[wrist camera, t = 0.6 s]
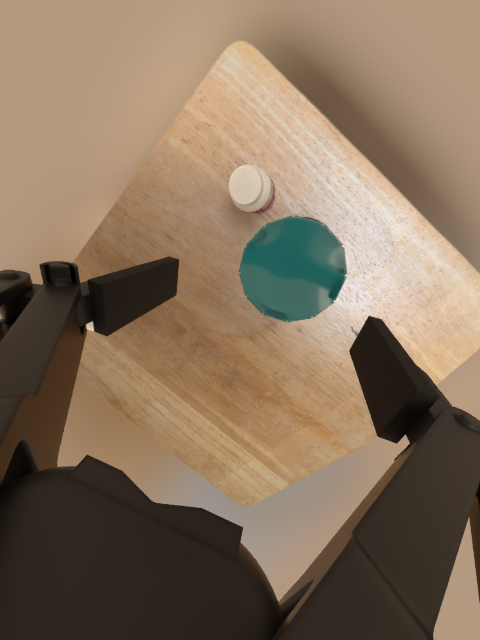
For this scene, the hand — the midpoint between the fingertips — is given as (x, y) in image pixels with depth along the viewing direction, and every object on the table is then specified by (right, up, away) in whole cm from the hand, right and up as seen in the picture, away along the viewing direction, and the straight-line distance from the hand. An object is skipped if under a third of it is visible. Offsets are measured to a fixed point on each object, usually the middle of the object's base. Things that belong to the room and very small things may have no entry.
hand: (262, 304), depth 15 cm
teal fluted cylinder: (+5, +6, +11) cm, 14 cm away
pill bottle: (+1, +18, +19) cm, 26 cm away
